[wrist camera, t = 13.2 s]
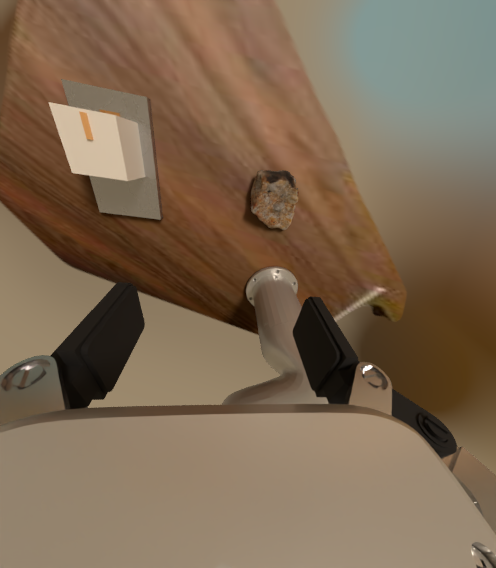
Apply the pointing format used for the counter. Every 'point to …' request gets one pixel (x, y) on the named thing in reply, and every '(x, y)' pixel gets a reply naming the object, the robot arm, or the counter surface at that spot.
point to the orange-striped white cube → (99, 143)
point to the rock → (274, 198)
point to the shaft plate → (144, 191)
